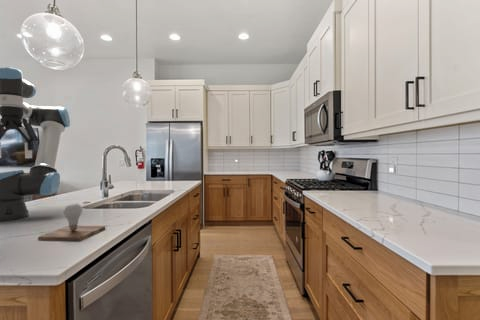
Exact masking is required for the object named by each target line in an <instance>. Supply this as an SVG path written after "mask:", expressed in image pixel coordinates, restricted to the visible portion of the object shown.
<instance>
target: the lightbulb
mask: <svg viewBox="0 0 480 320" xmlns="http://www.w3.org/2000/svg"><path fill="white" fill-rule="evenodd" d="M82 213H83V207H82V206H81V205H80V204H79V203H76V202H75V203H74V202H72V203H69V204H67V205H66V206H65V207H64V209H63V215H64V216H65V218H66V219H67V222H68V226H69V227H70V230H72V231H75V230H76V229H77V226H78V225H79V219H80V217H81V215H82Z"/></svg>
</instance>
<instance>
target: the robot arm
mask: <svg viewBox="0 0 480 320" xmlns="http://www.w3.org/2000/svg"><path fill="white" fill-rule="evenodd" d="M23 78H24V77H23V72H22V71H21V70H20V69H18V68H13V67H5V66H4V67H3V66H1V67H0V116H1V118H0V141H1V139H2V138H3V137H4V135H5V134H6V133H7V132H8V131H9V130H16V131H17V132H19V134H20V135H21V137H23V139H24V140H25V142H24V159H32V158H33V151H34V143H35V142H38V141H39V138H38V136H37V134H36V132H35V130H34V128H33V126H34V127H39V128H41V129H42V131H41V136H40V141H39V145H38V149H37V154H36V157H35V158H36V159H35V161H34V162H35V164H34V165H33V166H31V167H30V168H29V171H28V172H25V171H24V169H18V170H10V171H2V172H0V222H3V221H5V222H6V221H14V220H18V219H23V218H27V217H29V215H30V213H29V210H28V208H27V204H26V202H25V197H29V196H31V197H32V196H50V195H55V193H56V192H57V191H58V189H59V188H60V183H61V176H60V173H59V172H58V170H57V169H56V167H55V166H56V163H57V162H56V160H57V156H58V150H59V146H60V145H59V144H60V140H61V135H62V134H61V133H63V132H64V131H65V129H66V128H69V127H70V125H71V121H70V119H71V118H70V115H69V112H68V110H67V108H66V107H63V106H49V105H48V106H45V105H31V104H28V103H27V102H24V99H31V98H33V97H34V96H35V95H36V92H37V89H36V87H35V85H34V84H33V83H32V82H30V81H28V80H26V79H23ZM0 159H2V142H0Z"/></svg>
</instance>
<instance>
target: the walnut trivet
mask: <svg viewBox="0 0 480 320" xmlns="http://www.w3.org/2000/svg"><path fill="white" fill-rule="evenodd" d="M104 230H106V226H105V225H77V229H76V230H75V231H72V230H70V227H69V225H67V226H64V227H61V228H59V229H56V230H53V231H50V232H48V233H44V234H42V235H39V236H37V240H38V241H61V242H62V241H63V242H64V241H65V242H67V241H68V242H71V241H72V242H80V241H83V240H85V239H87V238H89V237H92V236H93V235H95V234H98V233H100V232H102V231H104Z"/></svg>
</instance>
